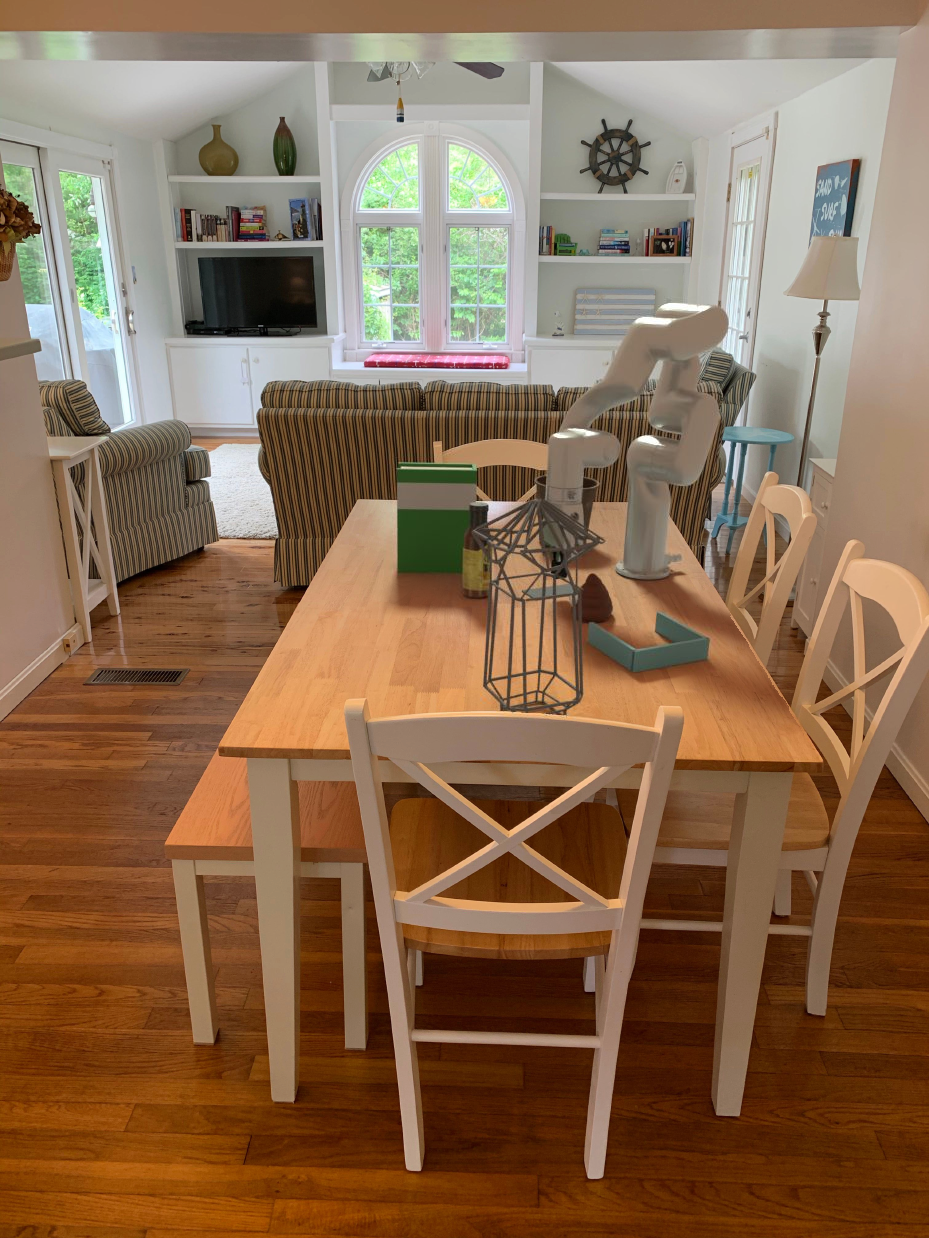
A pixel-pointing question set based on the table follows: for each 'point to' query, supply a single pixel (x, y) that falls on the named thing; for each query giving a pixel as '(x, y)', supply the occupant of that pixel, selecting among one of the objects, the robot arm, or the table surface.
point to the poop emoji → (594, 600)
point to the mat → (549, 591)
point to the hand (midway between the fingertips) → (558, 577)
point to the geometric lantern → (571, 528)
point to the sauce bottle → (476, 555)
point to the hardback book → (433, 515)
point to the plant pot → (587, 496)
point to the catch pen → (683, 649)
